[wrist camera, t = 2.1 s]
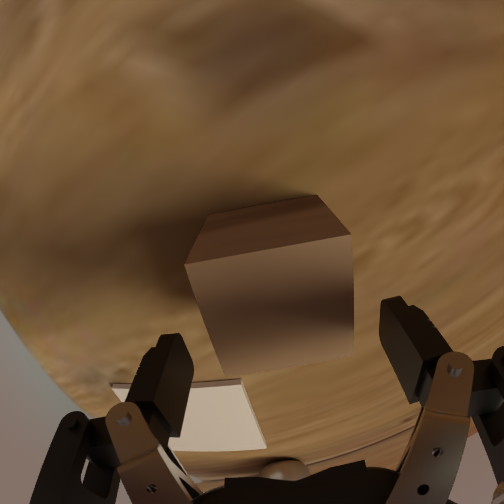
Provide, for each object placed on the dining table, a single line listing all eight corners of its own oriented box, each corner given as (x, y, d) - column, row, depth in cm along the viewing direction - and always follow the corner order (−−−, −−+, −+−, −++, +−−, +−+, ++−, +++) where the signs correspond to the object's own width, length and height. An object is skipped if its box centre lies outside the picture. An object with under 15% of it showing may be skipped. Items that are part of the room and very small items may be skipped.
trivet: (113, 383, 22) (111, 388, 21) (241, 378, 21) (241, 384, 20) (164, 445, 27) (163, 449, 26) (266, 443, 26) (266, 448, 25)
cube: (208, 215, 16) (183, 264, 10) (316, 194, 15) (351, 234, 10) (232, 304, 18) (225, 376, 13) (326, 288, 18) (353, 355, 12)
